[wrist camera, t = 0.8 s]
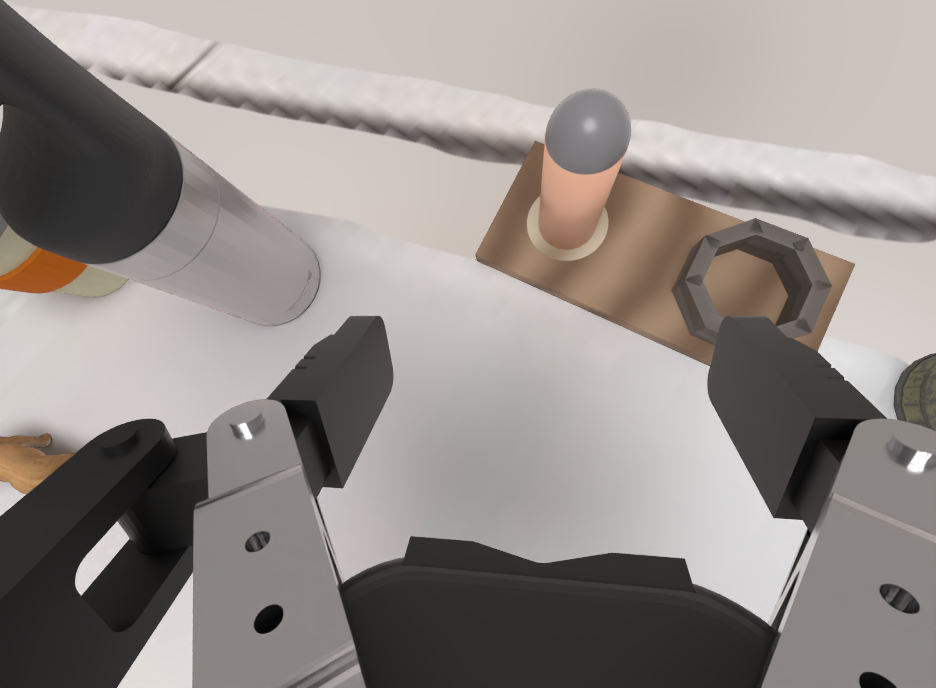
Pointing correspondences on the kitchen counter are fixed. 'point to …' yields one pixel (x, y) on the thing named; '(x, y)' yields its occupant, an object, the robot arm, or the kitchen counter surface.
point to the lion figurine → (27, 461)
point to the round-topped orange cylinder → (580, 165)
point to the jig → (669, 265)
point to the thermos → (917, 393)
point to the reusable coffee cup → (48, 270)
